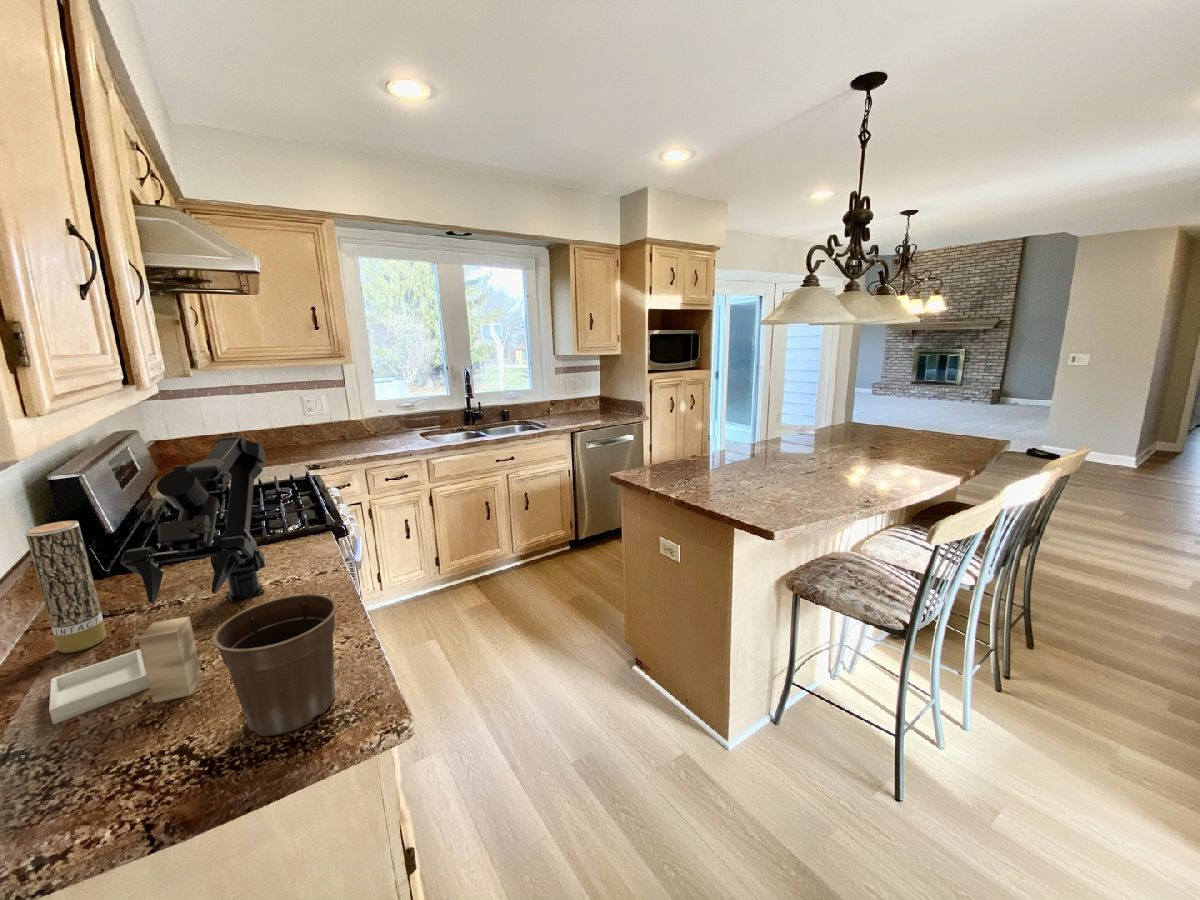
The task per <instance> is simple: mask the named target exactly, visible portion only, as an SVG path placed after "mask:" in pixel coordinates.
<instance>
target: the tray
mask: <svg viewBox="0 0 1200 900" xmlns="http://www.w3.org/2000/svg"><path fill="white" fill-rule="evenodd" d="M147 689H150V687H149V683H148V678H147V674H146V670H145V666H144V661H143V657H142V653H141V649H140V648H139V649H136V650H132V651H130V652H127V653H123V654H121V655H117V656H116V657H112V658H109V659H107V660H103V661H100V662H96V663H94V664H91V665H89V666H85V667H82V668H80V669H76V670H73V671H71V672H68V673H65V674H61V675H58V676H56V677H53V678H51V679H50V693H49V694H50V695H49V707H48V708H49V709H48V710H49V714H50V719H51V721H52V722H51V723H52V725H56V724H58V723H60V722H63V721H66V720H68V719H71V718H74V717H76V716H80V715H81V714H82V715H83V714H85V713H87V712H90V711H92V710H94V709H98V708H101V707H103V706H106V705H107V704H110V703H113V702H115V701H119V700H121V699H123V698H127V697H129V696H131V695H133V694H137V693H139V692H142V691H145V690H147Z"/></svg>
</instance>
